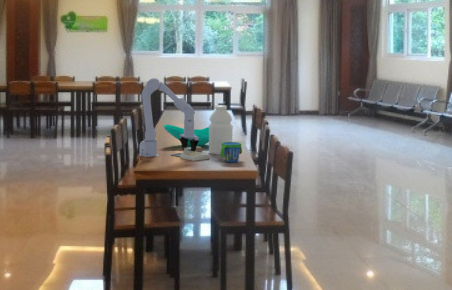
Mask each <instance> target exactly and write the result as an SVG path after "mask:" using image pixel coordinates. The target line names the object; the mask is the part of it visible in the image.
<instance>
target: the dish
mask: <svg viewBox="0 0 452 290" xmlns="http://www.w3.org/2000/svg"><path fill="white" fill-rule="evenodd" d="M181 153H182V154H181V157H180V159H181V160H186V161H192V162H195V161H203V160H209V159H210V153H207V154H205V153H206V152H203V153H200V152H197V156H191V155H187V153H184V152H181Z"/></svg>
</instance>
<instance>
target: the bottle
mask: <svg viewBox="0 0 452 290" xmlns="http://www.w3.org/2000/svg"><path fill="white" fill-rule="evenodd" d="M227 108H228V107H227V105H220V104H219V105H215V107H214V109H215V110H214V111H213V112H212V113H211V115H210V118H209V121H210V124H209V125H208V127H209V142H208V154H210V155H221V149H222V143H224V142H233V128H234V127H233V125H232V124H231V122H233V118H232V115H231V114H230V113H229V111H228V110H227Z"/></svg>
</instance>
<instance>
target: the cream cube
mask: <svg viewBox="0 0 452 290" xmlns="http://www.w3.org/2000/svg"><path fill="white" fill-rule="evenodd" d="M187 155H191V156H197V152H195V151H187Z"/></svg>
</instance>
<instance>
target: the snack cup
mask: <svg viewBox="0 0 452 290" xmlns="http://www.w3.org/2000/svg"><path fill="white" fill-rule="evenodd" d="M241 154H243V147H242V142H238V141H232V142H224V143H222V149H221V154H220V157H221V158H223V159H224V162H226V163H229V164H230V163H238V162H239V158H240V155H241Z"/></svg>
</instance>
